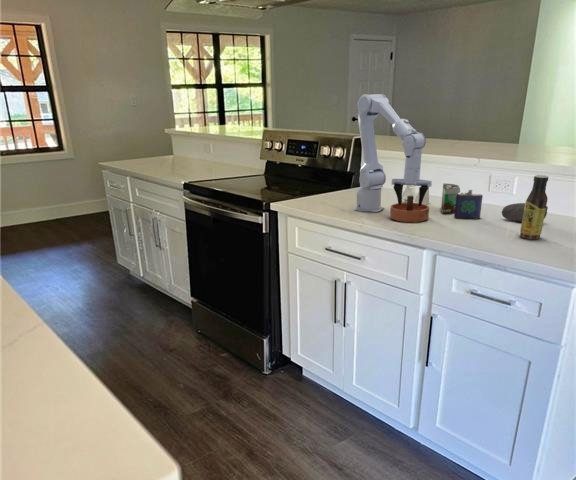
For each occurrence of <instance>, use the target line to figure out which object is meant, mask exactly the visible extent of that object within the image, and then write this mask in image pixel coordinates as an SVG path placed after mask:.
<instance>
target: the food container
mask: <svg viewBox="0 0 576 480" xmlns="http://www.w3.org/2000/svg"><path fill="white" fill-rule="evenodd" d="M457 194H461V187H460V185H458V184H455V183H445V182H444V183H443V184H442V193H441V204H440V205H441V206H440V210H441V212H442V214H443V215H449V214H455V207H456V196H457Z"/></svg>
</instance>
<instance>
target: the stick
mask: <svg viewBox="0 0 576 480" xmlns="http://www.w3.org/2000/svg"><path fill="white" fill-rule="evenodd" d="M406 203H407V211H413V203H414V200H413V196H407V201H406Z"/></svg>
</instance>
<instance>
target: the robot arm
mask: <svg viewBox="0 0 576 480" xmlns="http://www.w3.org/2000/svg"><path fill="white" fill-rule="evenodd" d="M356 104H357V111H358V116H357V117H358V118H357V119H358V129H359V135H360V142H361V150H362V157H363V165H362V167H361V168H360V169H359V178H358V179H359V180H358V181H359V182H358V183H359V185H360V186H361V187H359V188H358V189H357V191H356V209H355V211H357V212H372V213H379V212H380V211H382V210H383V209H384V206H381V203H382V202H381V201H382V188H383V187H384V185H385V184H386V181H387V175H386V173H385V170H384V167H383V165H382V164H381V163H379V159H378V151H377V143H376V135H375V128H374V121H375V119H376V118H377V117H378V116H379V115H380V114H381V115H382V117H383V118H384V119H386V121H388V122H389V123H390V124H391V125H392V131H393V133H394V134H395V135H396V136H397V137H398V138H399V139H400V140H401V144H402V148H403V151H404V170H403V178H391V185H392V186H393V190H394V192H395V195H396V199H397V204H399V205H400V204H401V203H403V199H402V193H403V191H404V186H406V185H413V186H415V187H418V192H419V203H418V206H421V205H422V201H423V198H424V196H425V193H426V191H427V190H428V188H429V189H430V188H431V187H432V185H433V182H432V180H428V179H421V178H420V177H421V164H422V153H423V151H422V150H423V149H424V148H425V146H426V143H427V140H426V139H427V138H426V136H425V135H424V133H423V132H418V131H417V129H415V128H414V127H413V126H412V125H411V124H410V121H409V120H408V119H406V118H401V117H400V116H399V115H398V114H397V112H396V111H395V110H394V108H393V107H392V106H391V104H390V101H389V98H387V96H386V95H385V94H384V93H376V94H365V93H363V94H362V95H361V96H360V97H359V99H358V101H357V103H356ZM407 183H408V184H407Z"/></svg>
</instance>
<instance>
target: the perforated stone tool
mask: <svg viewBox="0 0 576 480" xmlns="http://www.w3.org/2000/svg"><path fill="white" fill-rule="evenodd" d="M525 203H526V202H518V203H517V202H516V203H511V204H507V205H506V206H504V207H503V208H502V210H501V215H502V217H503V218H504V219H506V220H507V221H508V220H509V221H514V222H518V223H522V219H523V213H524V208H525ZM548 209H549V208H548V206H547V205H546V212H545V216H544V219H545V218H547V214H548Z"/></svg>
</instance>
